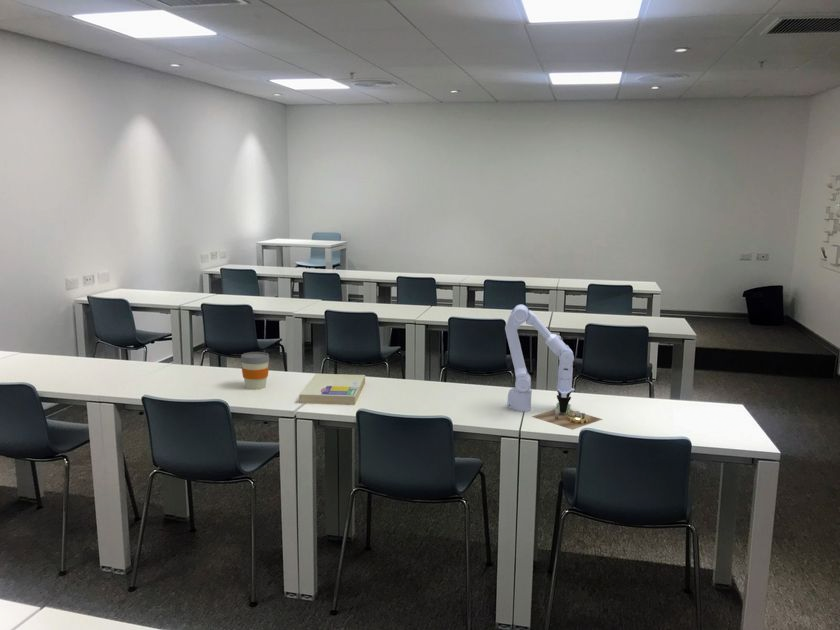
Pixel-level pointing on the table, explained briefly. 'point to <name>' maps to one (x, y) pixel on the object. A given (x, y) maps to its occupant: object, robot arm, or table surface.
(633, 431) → the table surface
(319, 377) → the puzzle box
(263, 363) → the reusable coffee cup
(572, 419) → the brass gear
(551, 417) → the gear board
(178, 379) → the table surface
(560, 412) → the pale green gear
